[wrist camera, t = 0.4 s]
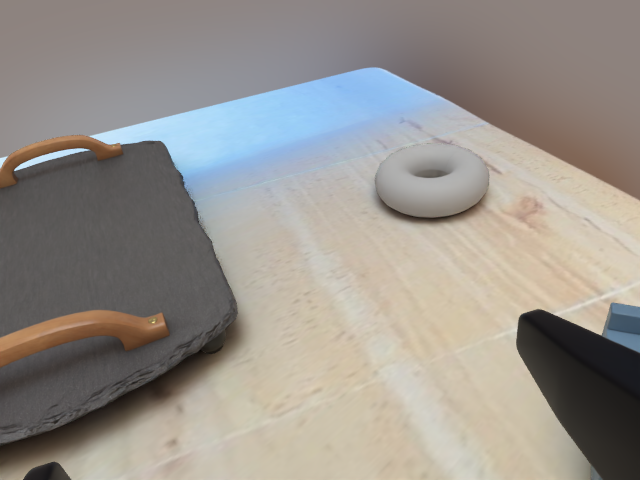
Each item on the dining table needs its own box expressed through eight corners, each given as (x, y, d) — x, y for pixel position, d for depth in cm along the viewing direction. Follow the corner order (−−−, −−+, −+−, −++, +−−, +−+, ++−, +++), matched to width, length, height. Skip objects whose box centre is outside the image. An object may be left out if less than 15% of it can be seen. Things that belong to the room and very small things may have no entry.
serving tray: (-40, 209, 56) (-72, 159, 52) (168, 150, 61) (152, 101, 58) (-159, 551, 26) (-255, 487, 22) (268, 371, 31) (247, 298, 28)
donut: (354, 205, 46) (449, 238, 40) (349, 172, 44) (449, 201, 38) (416, 160, 52) (509, 184, 45) (415, 129, 50) (512, 149, 44)
